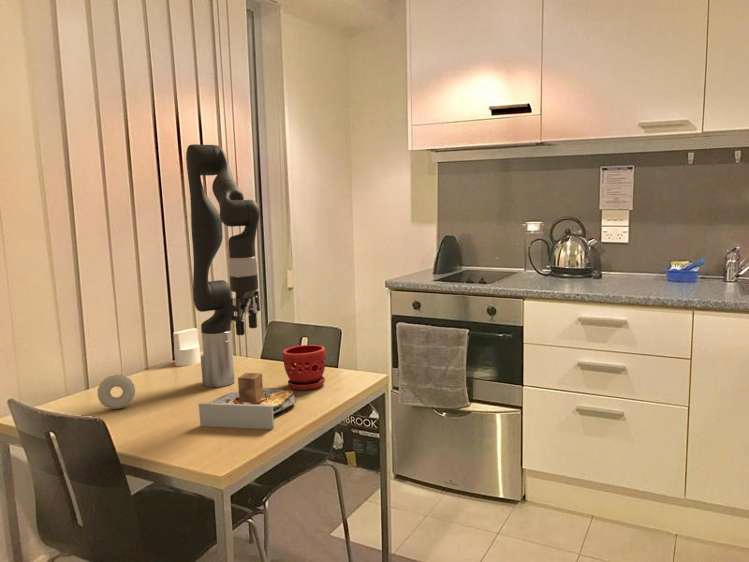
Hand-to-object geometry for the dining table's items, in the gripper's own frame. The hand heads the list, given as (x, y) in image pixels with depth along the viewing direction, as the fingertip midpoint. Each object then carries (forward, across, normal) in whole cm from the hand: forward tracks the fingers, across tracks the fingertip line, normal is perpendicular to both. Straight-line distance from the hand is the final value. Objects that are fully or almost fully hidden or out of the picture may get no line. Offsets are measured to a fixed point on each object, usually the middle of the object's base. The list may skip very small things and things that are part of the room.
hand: (247, 331), depth 166 cm
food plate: (+23, 0, 0) cm, 23 cm away
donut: (+22, +5, -39) cm, 45 cm away
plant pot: (+22, -21, +9) cm, 32 cm away
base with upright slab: (+23, -44, -44) cm, 66 cm away
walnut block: (+20, 0, 0) cm, 20 cm away
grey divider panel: (+22, +15, +2) cm, 26 cm away
